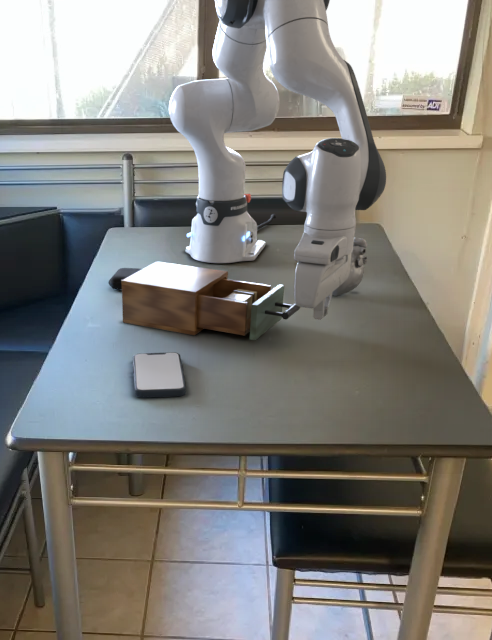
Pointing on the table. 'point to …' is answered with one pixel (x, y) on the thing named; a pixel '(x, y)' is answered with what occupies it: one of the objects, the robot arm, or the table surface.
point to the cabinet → (166, 296)
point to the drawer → (241, 308)
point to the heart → (354, 267)
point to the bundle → (244, 298)
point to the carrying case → (121, 277)
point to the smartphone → (158, 375)
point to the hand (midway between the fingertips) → (320, 317)
